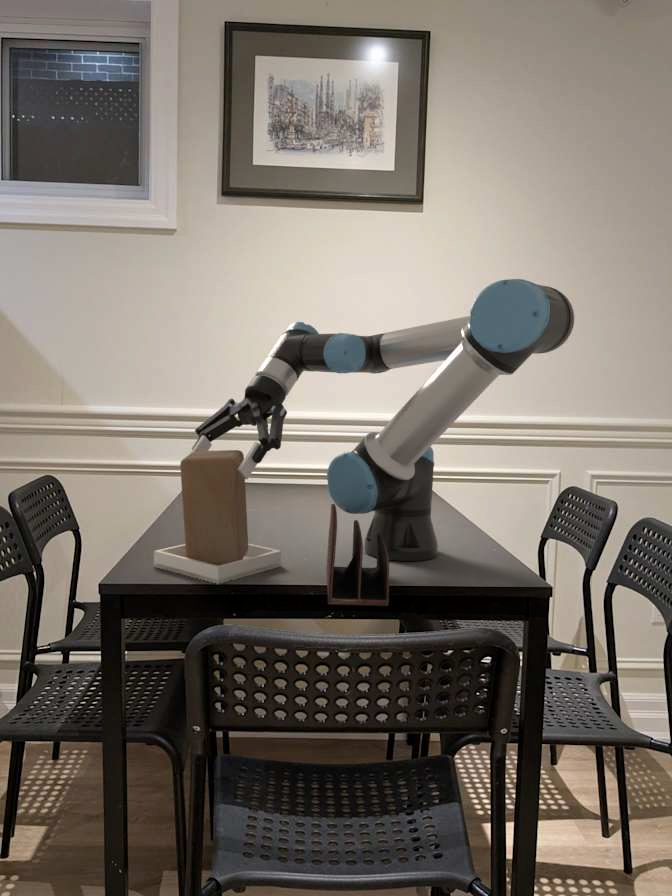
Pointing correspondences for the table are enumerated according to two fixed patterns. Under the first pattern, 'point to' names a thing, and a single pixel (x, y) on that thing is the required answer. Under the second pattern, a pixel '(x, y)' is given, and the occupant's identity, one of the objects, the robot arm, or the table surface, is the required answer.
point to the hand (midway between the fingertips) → (215, 470)
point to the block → (214, 506)
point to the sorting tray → (249, 565)
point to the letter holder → (356, 572)
